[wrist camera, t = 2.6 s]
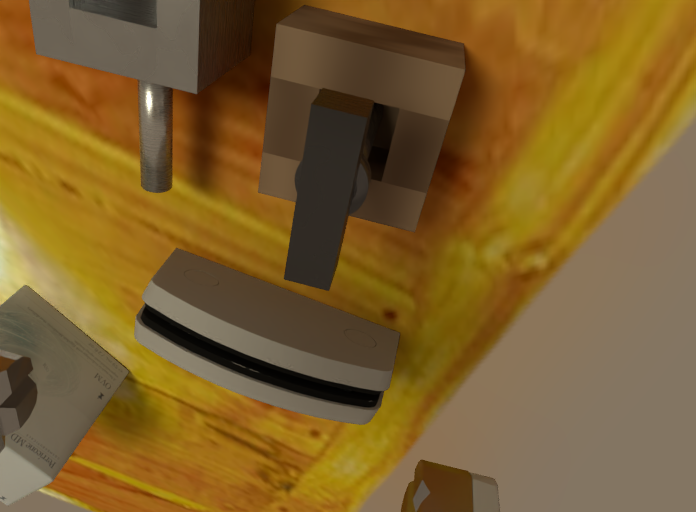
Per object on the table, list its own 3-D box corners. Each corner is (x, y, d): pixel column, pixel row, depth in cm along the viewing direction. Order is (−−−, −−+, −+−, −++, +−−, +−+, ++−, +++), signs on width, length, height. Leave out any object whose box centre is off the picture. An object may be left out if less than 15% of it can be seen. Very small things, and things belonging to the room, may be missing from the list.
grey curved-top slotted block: (162, 300, 39) (92, 361, 29) (181, 240, 37) (114, 283, 28) (377, 380, 39) (379, 466, 30) (402, 325, 38) (413, 395, 29)
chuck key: (407, 46, 25) (382, 122, 17) (375, 176, 29) (341, 294, 21) (350, 32, 26) (295, 99, 17) (326, 163, 30) (271, 275, 21)
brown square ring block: (463, 43, 26) (465, 70, 22) (419, 187, 30) (414, 232, 26) (304, 4, 26) (276, 23, 22) (284, 153, 31) (258, 192, 27)
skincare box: (133, 369, 43) (53, 485, 35) (90, 396, 46) (6, 509, 38) (27, 280, 40) (-92, 384, 31) (-13, 315, 43) (-131, 420, 34)
